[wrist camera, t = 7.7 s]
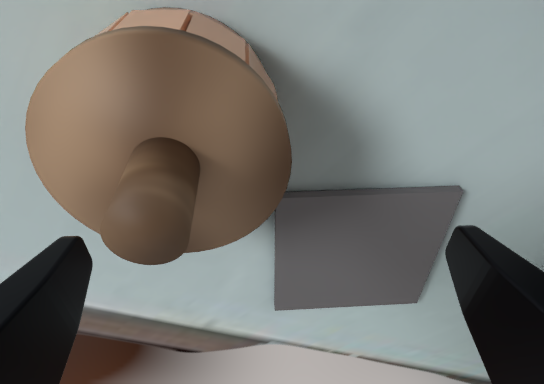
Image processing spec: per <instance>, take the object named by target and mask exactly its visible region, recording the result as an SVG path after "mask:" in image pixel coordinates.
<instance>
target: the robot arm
mask: <svg viewBox="0 0 544 384" xmlns="http://www.w3.org/2000/svg"><path fill="white" fill-rule="evenodd" d="M445 255H446V260H447V263H448V266H449V270H450V273H451V277H452V280H453V283H454V287H455V290H456V293H457V297H458V300H459V304H460V307H461V310H462V313H463V315H464V318H465V321H466V323H467V326H468V328H469V330H470V333H471V335H472V337H473V340H474V342H475V344H476V347H477V349H478V352H479V354H480V356H481V359H482V361H483V363H484V366H485V368H486V371H487V373H488V375H489V378H490V380H491V382H492V384H544V272H543V271H542V270H540V269H539V268H537V267H536V266H534V265H533V264H531V263H530V262H528V261H527V260H525V259H524V258H522V257H521V256H519V255H518V254H516V253H515V252H513V251H512V250H511V249H509V248H508V247H506V246H505V245H503V244H502V243H500V242H499V241H497V240H496V239H494V238H493V237H491V236H490V235H488V234H487V233H485V232H484V231H482V230H481V229H479V228H478V227H476V226H473V225H466V226H457V227H456V228H455V229H454V231H453V233H452V236H451V238H450V240H449V242H448V245H447V247H446V251H445ZM91 271H92V258H91V256H90V254H89V252H88V249H87V247H86V245H85V243H84V241H83V239H82V238H81V237H79V236H64V237H61V238H59V239H57V240H56V241H55V242H54V243H52V244H51V245H50V246H48V247H47V248H46V249H45V250H43V251H42V252H41V253H39V254H38V255H37V256H35V257H34V258H33V259H32V260H30V261H29V262H28V263H26V264H25V265H24V266H23V267H21V268H20V269H19V270H17V271H16V272H15V273H14V274H12V275H11V276H10V277H8V278H7V279H6V280H5V281H3V282H2V283H1V284H0V384H59V383H60V380H61V377H62V374H63V371H64V369H65V366H66V363H67V360H68V357H69V354H70V351H71V348H72V346H73V342H74V340H75V337H76V334H77V331H78V328H79V324H80V320H81V316H82V311H83V307H84V302H85V298H86V294H87V289H88V285H89V280H90V276H91Z"/></svg>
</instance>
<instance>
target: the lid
mask: <svg viewBox="0 0 544 384" xmlns="http://www.w3.org/2000/svg"><path fill="white" fill-rule="evenodd" d="M25 131H26V142H27V147H28V151H29V155H30V159H31V161H32V163H33V166H34V168H35V171H36V173H37V175H38V176H39V178H40V180H41V181H42V183H43V185H44V186H45V188H46V189H47V190H48V192H49V193H50V194H51V195H52V197H53V198H54V199H55V200H56V201H57V202H58V203H59V204H60V205H61V206H62V207H63V208H64V209H65V210H66V211H67V212H68V213H69V214H71V215H72V216H73V217H74V218H75V219H77V220H78V221H80V222H81V223H82V224H84V225H85V226H87V227H88V228H90V229H92V230H94V231H95V232H97V233H99V234H101V238H102V240H103V242H104V243H105V245H106V246H107V247H108V248H109V249H110V250H111V251H112V252H113V253H114V254H116V255H117V256H119V257H121V258H123V259H125V260H127V261H130V262H133V263H138V264H144V265H158V264H164V263H168V262H171V261H173V260H175V259H177V258H178V257H180V256H181V255H182V254H183V253H190V252H200V251H205V250H210V249H214V248H218V247H221V246H224V245H227V244H229V243H232V242H234V241H237V240H239V239H240V238H242V237H244V236H246V235H248V234H249V233H251V232H252V231H254V230H255V229H256V228H258V227H259V226H260V225H261V224H262V223H263V222H264V221H266V220H267V219H268V217H269V216H270V215H271V214H272V213H273V212H274V210H275V209H276V208H277V206H278V204H279V203H280V201H281V200H282V198H283V195H284V193H285V191H286V189H287V185H288V182H289V178H290V173H291V164H292V157H291V145H290V140H289V135H288V130H287V125H286V121H285V118H284V115H283V112H282V110H281V107H280V105H279V103H278V101H277V100H276V98H275V96H274V94H273V92H272V91H271V90H270V88H269V87H268V86H267V84H266V83H265V81H264V80H263V79H262V78H261V77H260V76H259V75H258V74H257V73H256V72H255V70H254V69H253V68H252V67H251V66H249V65H248V64H247V63H246V62H245V61H243V60H242V59H241V58H240V57H238V56H237V55H236V54H234V53H232V52H231V51H229V50H228V49H226V48H224V47H223V46H221V45H219V44H217V43H215V42H213V41H211V40H209V39H206V38H204V37H202V36H199V35H196V34H193V33H189V32H186V31H183V30H178V29H172V28H166V27H156V26H136V27H126V28H120V29H116V30H111V31H107V32H104V33H101V34H99V35H96V36H94V37H92V38H89V39H87V40H85V41H84V42H82V43H81V44H79V45H77V46H76V47H74V48H73V49H71V50H70V51H69V52H68V53H67V54H65V55H64V56H63V57H62V58H61V59H60V60H59V61H58V62H56V63H55V64H54V65H53V66H52V67H51V68H50V69H49V70H48V71H47V72H46V73H45V75H44V76H43V77H42V79H41V80H40V81H39V83H38V84H37V86H36V88H35V90H34V92H33V94H32V96H31V99H30V103H29V106H28V110H27V114H26V126H25Z"/></svg>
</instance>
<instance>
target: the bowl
mask: <svg viewBox="0 0 544 384" xmlns="http://www.w3.org/2000/svg"><path fill="white" fill-rule="evenodd" d="M136 26H156V27H166V28H172V29H178V30H183V31H186V32H189V33H193V34H196V35H199V36H202V37H204V38H206V39H209V40H211V41H213V42H215V43H217V44H219V45H221V46H223V47H224V48H226V49H228V50H229V51H231V52H232V53H234V54H236V55H237V56H238V57H240V58H241V59H242V60H243V61H245V62H246V63H247V64H248V65H249V66H251V67H252V68H253V69H254V70H255V72H256V73H257V74H258V75H259V76H260V77H261V78H262V79H263V80H264V81H265V83H266V84H267V86H268V87H269V88H270V90H271V91H272V92H273V94H274V96H275V98H276V100H277V94H276V91H275V86H274V84H273V83H272V81H271V79H270V78H269V76H268V74H267V73H266V71H265V69H264V67H263V65H262V63H261V61H260V59H259V58H258V57H257V55H256V54H255V52H254V51H253V49H252V48H251V46H250V44H249V43H248V44H247V43H246V41H245V39H243V38H242V37H240V36H239V35H238V34H237V33H236V32H235V31H233V30H232V29H231V28H229V27H228V26H226V25H225V24H223V23H222V22H220V21H218V20H216V19H214V18H212V17H210V16H208V15H205V14H202V13H199V12H196V11H192V10H187V9H182V8H169V7H163V8H151V9H147V10H132V11H131V12H130V13H128V12H127V13H125V14H124V15H123V16H121V17H120V18H119V19H117V20H116V21H114V22H113V23H112V24H110V25H109V26H108V27H106V28H105V29H104V30H102V31H101V32H99V33H98V34H97V35H99V34H101V33H104V32H107V31H111V30H116V29H120V28H126V27H136ZM95 36H96V35H95ZM277 101H278V100H277Z"/></svg>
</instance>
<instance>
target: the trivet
mask: <svg viewBox="0 0 544 384" xmlns="http://www.w3.org/2000/svg"><path fill="white" fill-rule="evenodd" d="M462 193H463V190H462V189H461V188H460V186H438V187H411V188H384V189H357V190H330V191H303V192H285V193H284V195H283V198H282V200H281V201H280V203H279V204H278V206H277V208H276V209H275V296H274V305H275V311H276V310H295V309H314V308H333V307H352V306H371V305H390V304H408V303H417V302H418V299H419V297H420V294H421V292H422V290H423V287H424V285H425V282H426V280H427V277H428V275H429V273H430V270H431V268H432V265H433V263H434V261H435V258H436V256H437V253H438V251H439V249H440V246H441V244H442V241H443V239H444V237H445V234H446V232H447V229H448V227H449V225H450V222H451V220H452V217H453V215H454V213H455V210H456V208H457V205H458V203H459V201H460V198H461V196H462Z"/></svg>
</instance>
